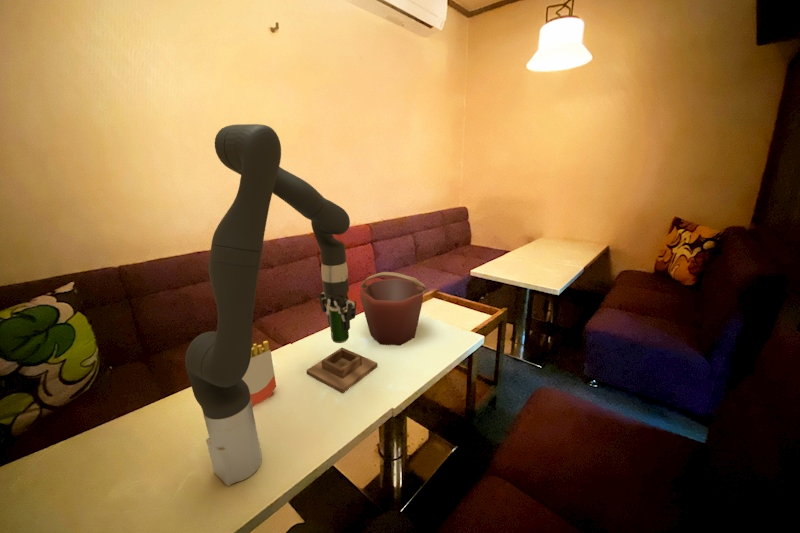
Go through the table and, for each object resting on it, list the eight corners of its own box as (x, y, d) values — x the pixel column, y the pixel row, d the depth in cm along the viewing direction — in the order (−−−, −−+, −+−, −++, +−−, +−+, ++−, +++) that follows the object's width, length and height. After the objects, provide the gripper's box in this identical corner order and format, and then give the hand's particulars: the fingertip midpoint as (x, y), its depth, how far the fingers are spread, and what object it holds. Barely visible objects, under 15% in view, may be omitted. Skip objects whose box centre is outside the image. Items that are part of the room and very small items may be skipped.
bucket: (434, 330, 137) (436, 270, 128) (405, 359, 119) (404, 291, 111) (383, 315, 149) (381, 259, 141) (349, 339, 132) (344, 276, 123)
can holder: (342, 393, 103) (341, 380, 101) (306, 374, 112) (305, 362, 110) (377, 366, 115) (377, 354, 114) (342, 351, 124) (341, 339, 122)
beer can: (335, 345, 106) (332, 309, 102) (328, 337, 110) (325, 303, 106) (351, 340, 109) (349, 305, 105) (344, 332, 113) (341, 298, 109)
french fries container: (233, 404, 99) (222, 349, 93) (270, 386, 106) (261, 334, 100) (240, 412, 96) (228, 356, 90) (277, 393, 103) (269, 340, 97)
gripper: (308, 275, 104) (314, 326, 109) (343, 286, 96) (347, 340, 101) (327, 268, 109) (331, 317, 115) (362, 277, 101) (364, 329, 107)
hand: (339, 327), depth 108 cm, fingers closed on beer can, 5 cm apart
